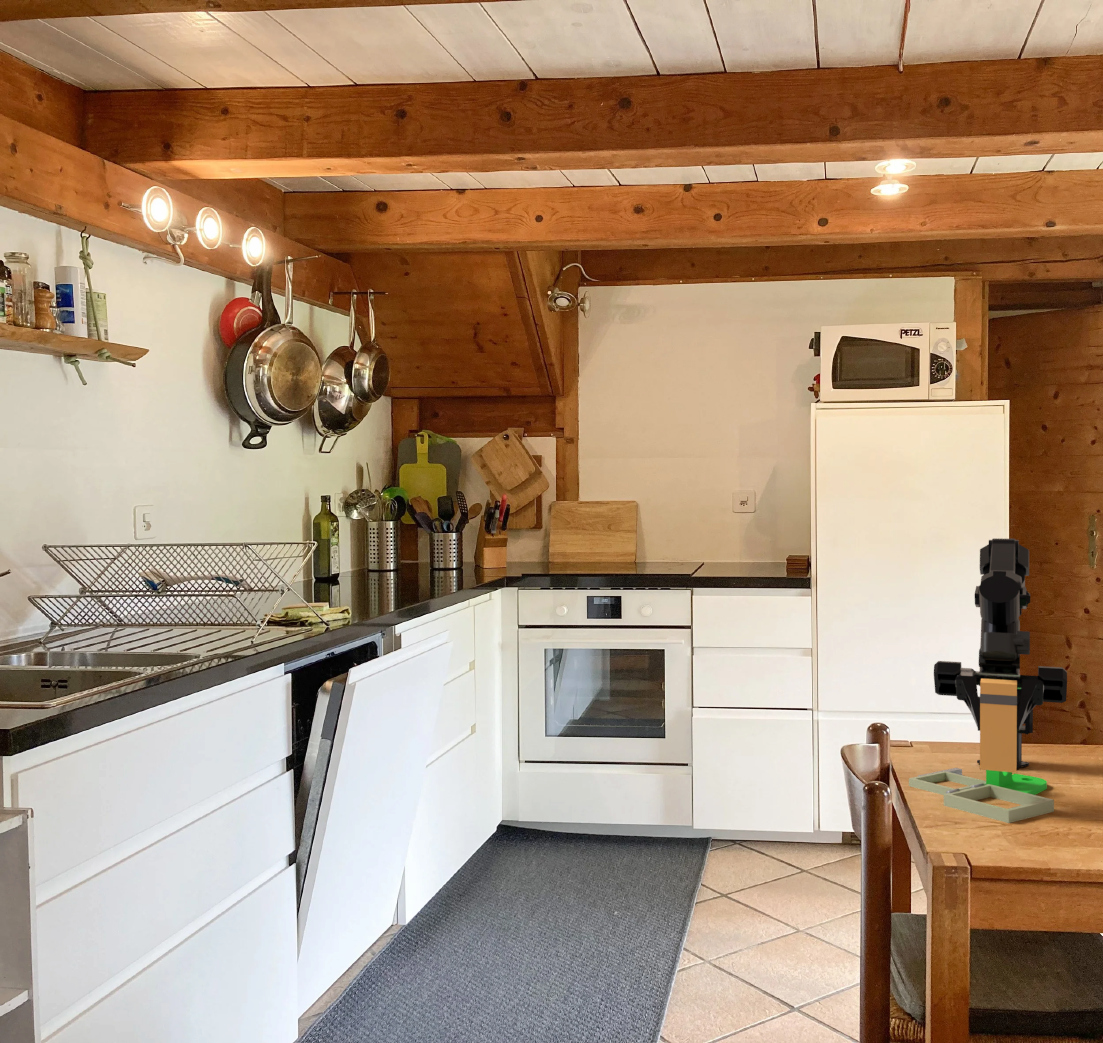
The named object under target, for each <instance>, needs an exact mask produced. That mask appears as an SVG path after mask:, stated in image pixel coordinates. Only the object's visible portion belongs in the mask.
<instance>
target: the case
mask: <svg viewBox="0 0 1103 1043" xmlns="http://www.w3.org/2000/svg"><path fill="white" fill-rule="evenodd" d="M987 798H993V799H996V800H1001V801H1004V802H1009V803H1013V804H1017V805H1016V806H1013V807H1010V808H1006V807H1001V806H998V805H994V804H990V803H986V802H982V801H978V800H983V799H987ZM943 806H944V807H947V808H951V809H956V810H959V811H963V812H967V813H969V814H974V815H977V816H982V817H984V818H988V819H990V820H991V819H992V820H995V821H1000V822H1003V823H1006V824H1011V823H1015V822H1018V821H1022V820H1026V819H1027V820H1028V819H1030V818H1034V817H1038V816H1041V815H1045V814H1049V813H1054V812H1055V800H1054V799H1052V798H1048V797H1043V796H1040V795H1037V794H1036V795H1032V794H1028V793H1024V792H1020V791H1016V790H1012V789H1007V788H1003V787H999V786H995V785H991V784H987V785H984V784H983V783H981V784H977V785H972V786H971V788H969V789H964V790H960V789H957V788H954V790H949V791H946V794H944V795H943Z"/></svg>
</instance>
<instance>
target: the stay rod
mask: <svg viewBox="0 0 1103 1043" xmlns="http://www.w3.org/2000/svg"><path fill="white" fill-rule="evenodd" d="M943 771H946V772H950V773H955V774H959V775H963V768H960V767H954V768H953V767H952V768H948V769H943V770H939V771H938V770H937V771H933V772H929V773H924V774H918V775H917V777H918V776H923V775H928V774H933V773H938V772H943Z"/></svg>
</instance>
